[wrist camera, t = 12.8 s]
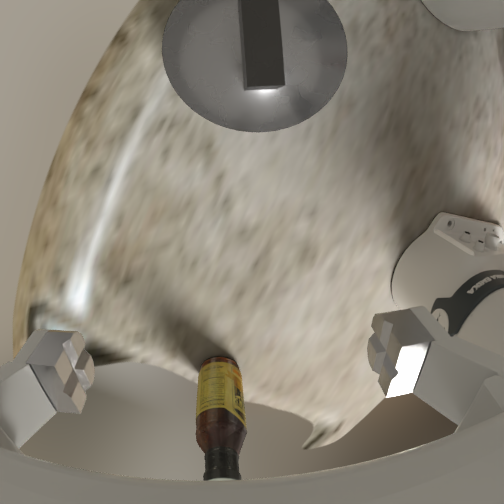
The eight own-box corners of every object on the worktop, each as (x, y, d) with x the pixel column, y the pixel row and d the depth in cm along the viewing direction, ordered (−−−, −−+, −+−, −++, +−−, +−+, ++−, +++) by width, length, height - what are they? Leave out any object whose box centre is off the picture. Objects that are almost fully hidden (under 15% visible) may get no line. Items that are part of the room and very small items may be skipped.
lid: (331, -20, 21) (352, -43, 16) (343, 128, 27) (369, 133, 22) (163, -16, 20) (151, -40, 15) (173, 139, 26) (161, 145, 21)
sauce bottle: (239, 383, 47) (249, 498, 29) (198, 382, 47) (194, 497, 29) (242, 352, 45) (255, 476, 27) (198, 351, 44) (192, 475, 26)
